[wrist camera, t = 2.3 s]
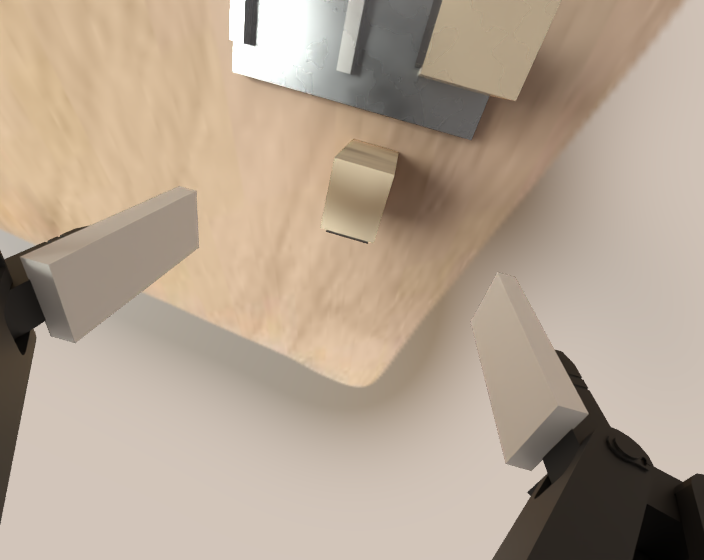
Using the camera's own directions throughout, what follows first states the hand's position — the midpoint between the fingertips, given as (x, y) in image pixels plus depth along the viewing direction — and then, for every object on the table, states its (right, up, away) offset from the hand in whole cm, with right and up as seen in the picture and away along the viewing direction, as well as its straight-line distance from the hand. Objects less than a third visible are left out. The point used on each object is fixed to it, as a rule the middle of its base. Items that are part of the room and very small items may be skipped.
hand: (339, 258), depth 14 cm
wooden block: (+2, +8, +15) cm, 17 cm away
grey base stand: (+2, +17, +9) cm, 20 cm away
